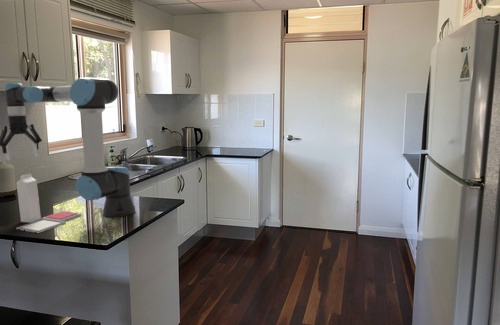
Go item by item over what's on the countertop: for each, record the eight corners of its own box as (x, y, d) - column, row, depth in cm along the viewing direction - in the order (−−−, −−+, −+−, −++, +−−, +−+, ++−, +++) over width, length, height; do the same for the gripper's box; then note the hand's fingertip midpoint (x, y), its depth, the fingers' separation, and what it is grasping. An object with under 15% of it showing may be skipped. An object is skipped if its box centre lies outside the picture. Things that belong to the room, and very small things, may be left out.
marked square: (65, 223, 186) (65, 221, 186) (38, 233, 173) (38, 231, 173) (44, 220, 192) (44, 218, 192) (16, 229, 179) (16, 227, 179)
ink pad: (81, 215, 197) (80, 212, 197) (60, 223, 187) (59, 219, 186) (63, 213, 202) (63, 210, 202) (42, 220, 192) (41, 217, 191)
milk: (20, 222, 190) (14, 175, 187) (31, 218, 196) (25, 173, 192) (31, 222, 188) (25, 175, 185) (41, 218, 194) (36, 173, 190)
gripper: (38, 113, 213) (43, 154, 216) (-15, 116, 193) (-9, 161, 196) (45, 113, 208) (50, 155, 212) (-8, 116, 188) (-2, 162, 192)
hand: (22, 158), depth 204 cm, fingers open, 13 cm apart
